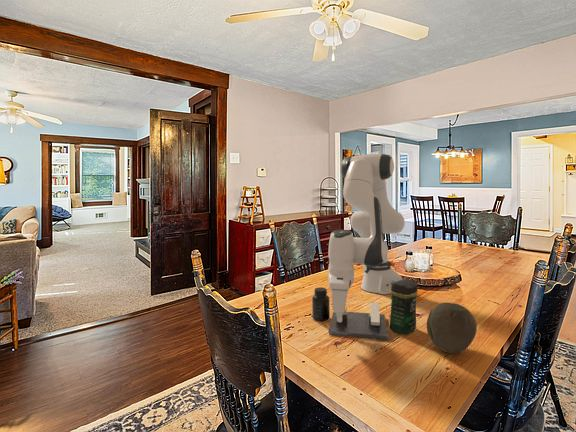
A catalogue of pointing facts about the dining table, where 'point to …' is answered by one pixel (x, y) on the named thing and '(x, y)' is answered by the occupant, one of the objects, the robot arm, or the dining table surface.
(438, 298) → the dining table surface
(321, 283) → the dining table surface
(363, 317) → the panel
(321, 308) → the supplement bottle
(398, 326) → the coffee jar
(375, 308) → the paddle
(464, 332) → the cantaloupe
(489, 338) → the dining table surface
